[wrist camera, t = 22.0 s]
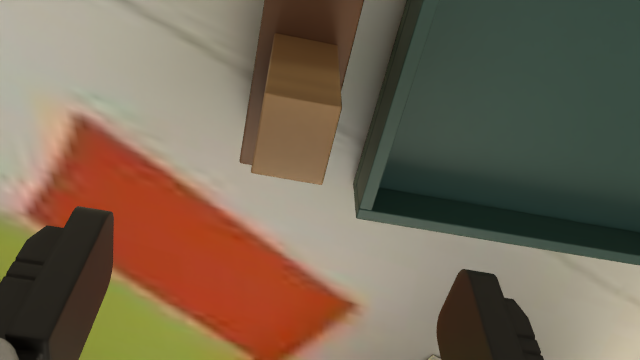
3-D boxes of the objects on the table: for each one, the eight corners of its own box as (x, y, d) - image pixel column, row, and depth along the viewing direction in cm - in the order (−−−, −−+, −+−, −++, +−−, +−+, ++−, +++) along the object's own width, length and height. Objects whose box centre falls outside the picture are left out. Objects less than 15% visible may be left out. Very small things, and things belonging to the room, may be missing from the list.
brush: (277, -73, 23) (261, -10, 16) (366, -54, 23) (385, 15, 17) (246, 128, 28) (223, 239, 21) (319, 141, 28) (320, 254, 22)
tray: (436, -101, 22) (449, -86, 20) (861, -1, 24) (918, 22, 22) (353, 184, 29) (355, 218, 27) (685, 241, 32) (714, 278, 29)
